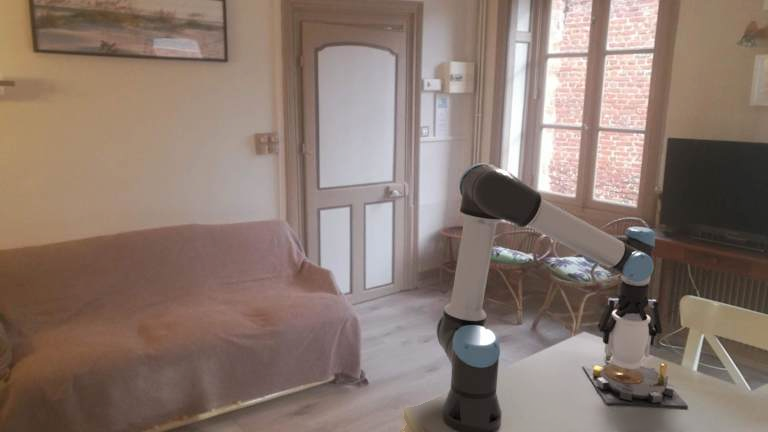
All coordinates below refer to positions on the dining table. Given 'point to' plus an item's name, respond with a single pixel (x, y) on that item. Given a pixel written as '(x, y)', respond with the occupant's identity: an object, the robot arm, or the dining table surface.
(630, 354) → the jar
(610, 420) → the dining table surface
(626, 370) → the sprocket
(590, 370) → the base plate
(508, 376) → the dining table surface
